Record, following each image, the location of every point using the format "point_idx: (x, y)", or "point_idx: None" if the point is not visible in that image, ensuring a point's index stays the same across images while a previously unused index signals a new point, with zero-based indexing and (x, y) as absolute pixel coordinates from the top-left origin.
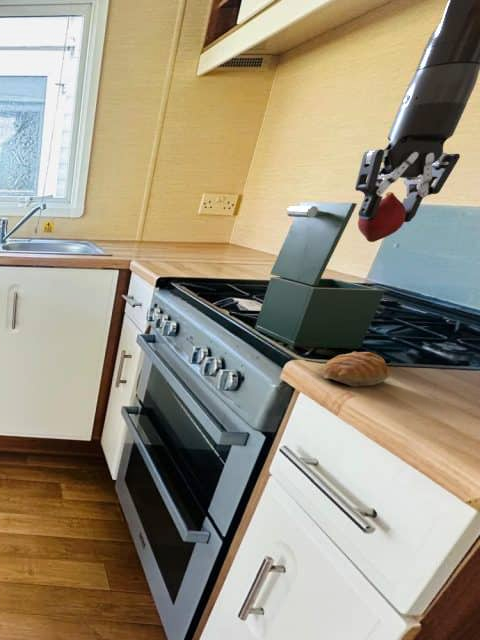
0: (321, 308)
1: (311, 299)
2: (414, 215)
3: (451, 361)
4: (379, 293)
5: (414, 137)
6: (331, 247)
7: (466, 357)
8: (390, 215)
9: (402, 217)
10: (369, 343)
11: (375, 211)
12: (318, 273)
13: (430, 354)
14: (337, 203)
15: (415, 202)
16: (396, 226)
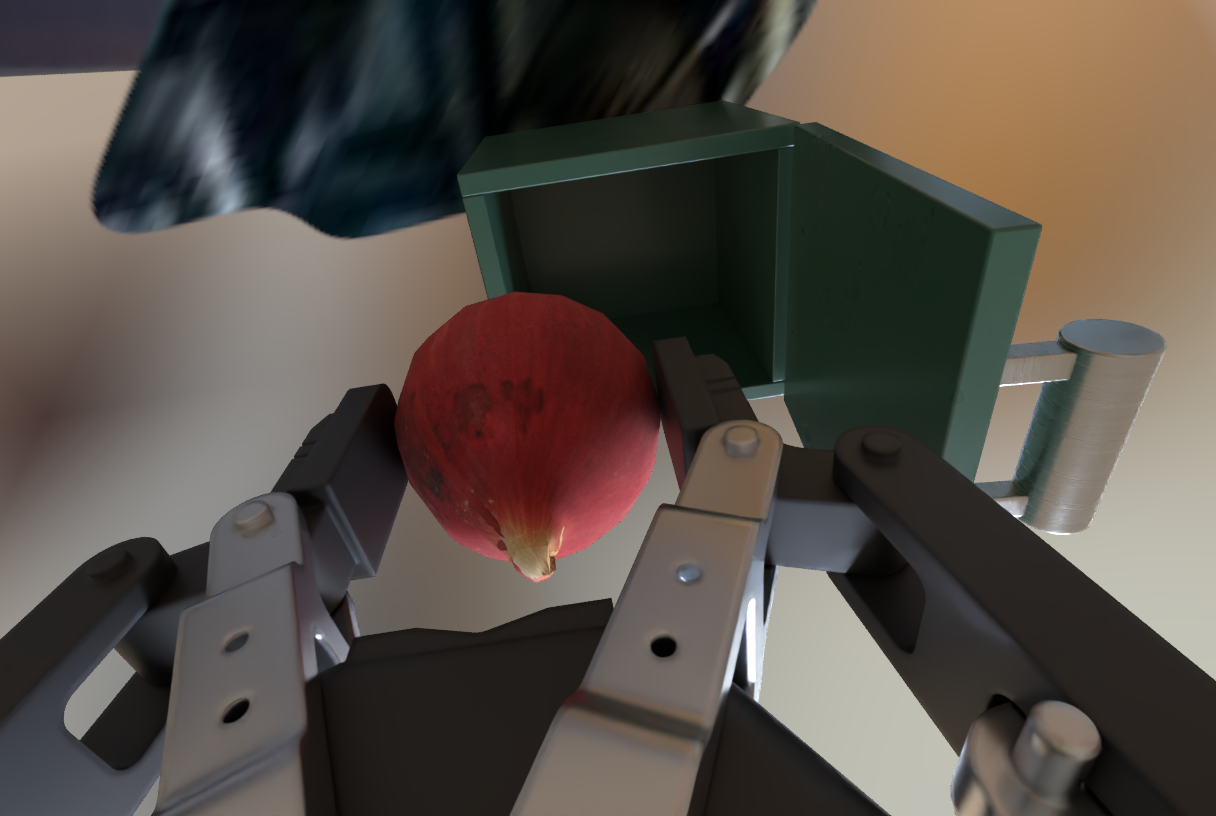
0: (708, 121)
1: (776, 117)
2: (317, 426)
3: (217, 43)
4: (480, 168)
5: None
6: (881, 152)
7: (134, 117)
8: (559, 326)
9: (457, 330)
10: (412, 221)
11: (670, 358)
12: (833, 130)
13: (254, 126)
14: (995, 384)
15: (335, 460)
16: (482, 302)
